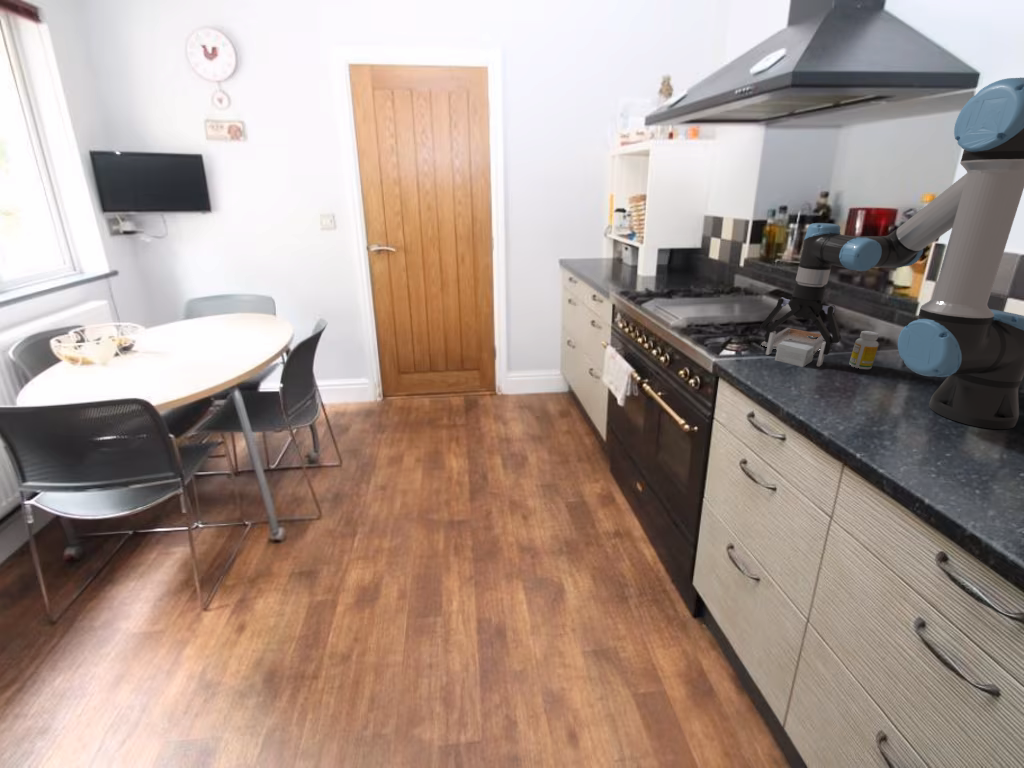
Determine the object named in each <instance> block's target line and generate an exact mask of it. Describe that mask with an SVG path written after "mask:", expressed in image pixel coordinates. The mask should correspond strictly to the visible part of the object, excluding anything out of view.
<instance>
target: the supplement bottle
mask: <svg viewBox="0 0 1024 768" xmlns="http://www.w3.org/2000/svg"><path fill="white" fill-rule="evenodd" d="M878 338H879V333H878V332H875V331H871V330H863V331H861V332H860V335H859V338H857V339H856V340H855V343H854V344H853V345H854V346H853V349H852V352H851V356H850V359H849V362H848V363H849V366H850V365H851V368H854V367H855V368H854V369H858V368H859V369H860V370H871V369H872V367H873V364H874V362H875V358H876V355H877V351H878V348H879V342H878V341H877V340H878ZM859 369H858V370H859Z"/></svg>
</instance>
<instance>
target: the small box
mask: <svg viewBox="0 0 1024 768" xmlns="http://www.w3.org/2000/svg"><path fill="white" fill-rule="evenodd" d="M815 347H816V344H812V343H807V342H802V341H798V340H793V339H787V340H785V341H782V342H781V343H780V344H778V348H777V350H776V353H775V358H774V361H776V362H780V363H783V364H788V365H793V366H797V367H801V368H804V367H805V366H806V365H808V364H810V363H811V362H812V361H813V360H814V356H815V355H814V352H815ZM813 355H814V356H813Z"/></svg>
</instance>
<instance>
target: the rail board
mask: <svg viewBox="0 0 1024 768" xmlns="http://www.w3.org/2000/svg"><path fill="white" fill-rule="evenodd" d="M807 336H813V337H818V338H817V339H810V338H808V337H807ZM787 339H793V340H798V341H802V342H807V343H812V344H816V347H815V352H814V354H815V353H816V352H817V351H818V350H819V349H821V346H822V343H823V342H824V341H823V340H824V338H823V337H822V335H821V333H817V332H812V331H806V330H801V329H795V328H791V327H785V328H784V329H782V330H780V331H779V332H776V334H775V338H774V343H773V348H772V350H773V349H776V350H775V351H777V348H778V344H780V343H781V342H782V341H785V340H787ZM761 345H762V346H765V347H767V345H768V342H765V340H764V341H762V342H761V343H760V346H761ZM817 353H818V352H817ZM817 353H816V354H817ZM816 354H815V355H816Z"/></svg>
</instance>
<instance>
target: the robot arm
mask: <svg viewBox="0 0 1024 768" xmlns="http://www.w3.org/2000/svg"><path fill="white" fill-rule="evenodd" d="M953 134H954V139H955V140H956V141H957V144H958V146H959V147H960V148H961V149H963V151H962V156H961V160H960V165H961V166H962V168H964V169H965V171H966V173H965V174H964V175H963V176H962V177H960V178H958V180H956V181H954V183H953V184H951V185H950V186H948V187H947V188H946V189H945V190H944V191H943V192H942V193H940V194H939V195H938V196H937V197H935V198H934V199H933V200H931V201H930V202H929V203H928V204H927V205H925V206H924V207H923V208H921V209H920V210H919V211H917V212H916V213H915V214H914V215H913V216H911V217H910V218H909V219H907V220H906V221H905V222H904V223H902V224H901V225H900V226H899V227H897V228H895V230H893V231H892V232H890V234H887V235H881V236H880V235H878V236H873V235H872V236H868V235H866V236H860V235H859V236H857V235H856V236H855V235H847V234H841V226H840V225H839V224H836V223H825V222H815V223H811V224H809V225H808V227H807V230H806V231H805V232H806V233H805V236H804V239H803V245H802V250H801V255H800V259H799V264H798V267H797V274H796V277H795V281H796V283H795V284H794V286H793V291H792V295H791V299H789V298H788V299H787V298H786V297H780V298H779V299H777V303H776V306H775V307H774V308H773V309H772V311H770V313H769V314H768V316H767V317H766V318H765V320H764V321H763V322H762V323H761V324H760V328H761V329H764V330H765V331H766V333H765V337H764V341H765V342H768V345H767V348H766V350H765V356H766V355H767V356H769V355H770V354H772V353H773V349H772V348H773V343H774V338H775V335H776V334H777V330H775V329H776V328H777V327H779V326H781V324H783V323H784V322H786V321H787V320H788V319H790V318H791V317H793V316H794V317H795V318H798V319H801V318H802V319H804V320H811V321H812V322H813V323H814V325H815V326H816V328H817V329H818V331H819V334H821V335H822V337H823V338H824V340H825V341H824V342H823V343H822V346H821V350H820V351H819V355H818V357H817V362H816V367H821V366H822V365H823V364H824V363H823V362H824V359H825V356H828V355H829V354H830V352H831V348H832V346H833V344H837V343H839V342H841V341H842V336H841V332H840V329H839V326H838V321H837V318H836V317H837V316H836V314H835V313H836V305H835V304H832V305H824V298H825V294H826V290H827V286H826V285H827V284H828V282H829V279H830V273H831V269H832V266H835V267H839V268H844V269H848V270H850V271H858V272H866V271H869V270H870V269H873V268H874V269H875V268H894V269H897V268H903V267H910V266H912V265H914V264H916V263H917V262H919V260H920V258H921V257H922V255H923V253H924V249H925V248H926V247H927V246H929V245H930V244H932V243H933V242H934V241H937V239H938V238H940V237H942V236H943V235H944V234H946V233H947V232H948V231H950V230H951V232H950V236H949V240H948V242H947V246H946V250H945V254H944V257H943V260H942V264H941V267H940V271H939V274H938V279H937V282H936V285H935V288H934V292H933V296H932V298H931V300H929V301H927V302H926V303H924V304H922V305H920V307H919V308H920V309H919V312H918V315H917V319H916V320H913V321H911V322H909V323H908V325H904V327H903V328H902V329H901V331H900V333H899V335H898V339H897V350H898V351H897V352H898V354H899V357H900V358H901V360H902V361H903V362H904V365H905V366H906V367H907V368H908V369H909V370H911V371H912V372H913V373H916V374H917V375H921V376H923V377H924V376H925V377H938V378H945V380H943V382H942V383H941V384H940V385H939V386H938V387H937V389H936V390H935V392H933V394H932V395H931V397H930V400H929V403H928V407H929V408H930V409H931V410H932V411H933V412H935V413H936V414H937V415H940V416H942V417H944V418H946V419H949V420H952V421H954V422H958V423H961V424H965V425H969V426H971V427H972V426H973V427H978V428H984V429H992V430H993V429H994V430H1008V429H1013V428H1014V427H1015V426H1016V425H1017V422H1018V420H1019V418H1020V417H1019V416H1020V408H1019V407H1020V406H1019V403H1020V402H1019V388H1020V385H1021V383H1022V380H1023V378H1024V315H1023V314H1017V313H1013V312H1010V311H1003V310H998V309H992V308H989V306H988V303H989V299H990V296H991V293H992V291H993V287H994V285H995V284H994V283H995V280H996V278H997V274H998V271H999V269H1000V265H1001V262H1002V258H1003V255H1004V252H1005V249H1006V246H1007V243H1008V240H1009V236H1010V234H1011V230H1012V227H1013V223H1014V220H1015V218H1016V214H1017V211H1018V208H1019V204H1020V201H1021V198H1022V196H1023V193H1024V192H1023V191H1024V77H1020V76H1019V77H1009V78H1003V79H1002V78H1001V79H999V80H997V81H993V82H991V83H990V84H988V85H986V86H984V87H982V88H981V89H980V90H979V91H978V92H977V93H976V94H975V95H973V96H971V98H969V100H968V101H967V102H966V103H965V104H964V105H963V107H962V109H961V110H960V111H959V114H958V115H957V118H956V120H955V123H954V130H953ZM786 306H789V309H790V310H789V311H788V312H786V313H785V314H784V315H783V316H782V317H781V318H779V319H778V320H776V321H775V322H774V323H772V324H771V325H770V323H771V322H772V321H773V319H775V317H776V316H777V315H778V314H779V313H780V311H781V310H782V308H783V307H786ZM822 311H824V314H825V315H827V321H828V323H829V328H830V332H831V333H830V332H829V329H828V328H827V326H826V324H825V323H824V322H823V319H822V317H821V315H820V312H822Z"/></svg>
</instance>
